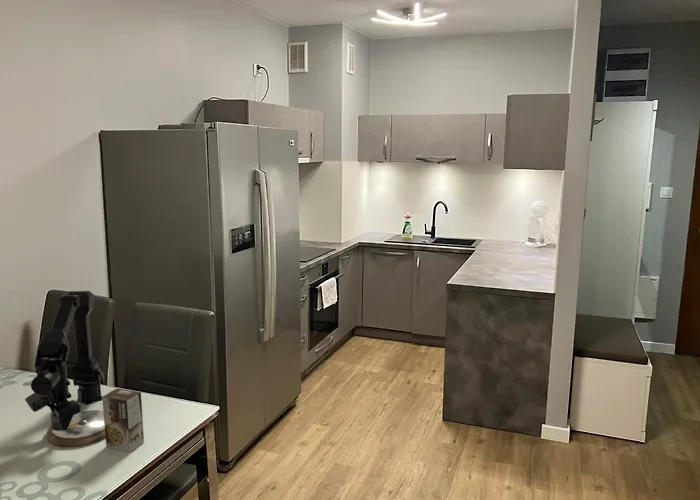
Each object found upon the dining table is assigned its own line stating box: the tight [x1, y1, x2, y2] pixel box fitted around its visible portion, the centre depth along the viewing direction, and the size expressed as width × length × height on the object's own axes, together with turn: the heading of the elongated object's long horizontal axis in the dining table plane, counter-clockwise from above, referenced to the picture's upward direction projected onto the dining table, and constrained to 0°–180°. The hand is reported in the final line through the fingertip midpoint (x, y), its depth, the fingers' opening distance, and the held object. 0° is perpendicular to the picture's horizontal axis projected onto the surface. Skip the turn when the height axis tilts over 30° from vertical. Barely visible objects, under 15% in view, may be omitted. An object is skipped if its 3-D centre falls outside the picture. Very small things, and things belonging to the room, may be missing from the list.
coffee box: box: [101, 387, 145, 453], centre depth 165 cm, size 9×6×16 cm
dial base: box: [46, 424, 106, 448], centre depth 175 cm, size 20×20×2 cm
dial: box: [50, 409, 105, 440], centre depth 174 cm, size 17×17×6 cm
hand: (61, 426), depth 171 cm, fingers open, 6 cm apart
